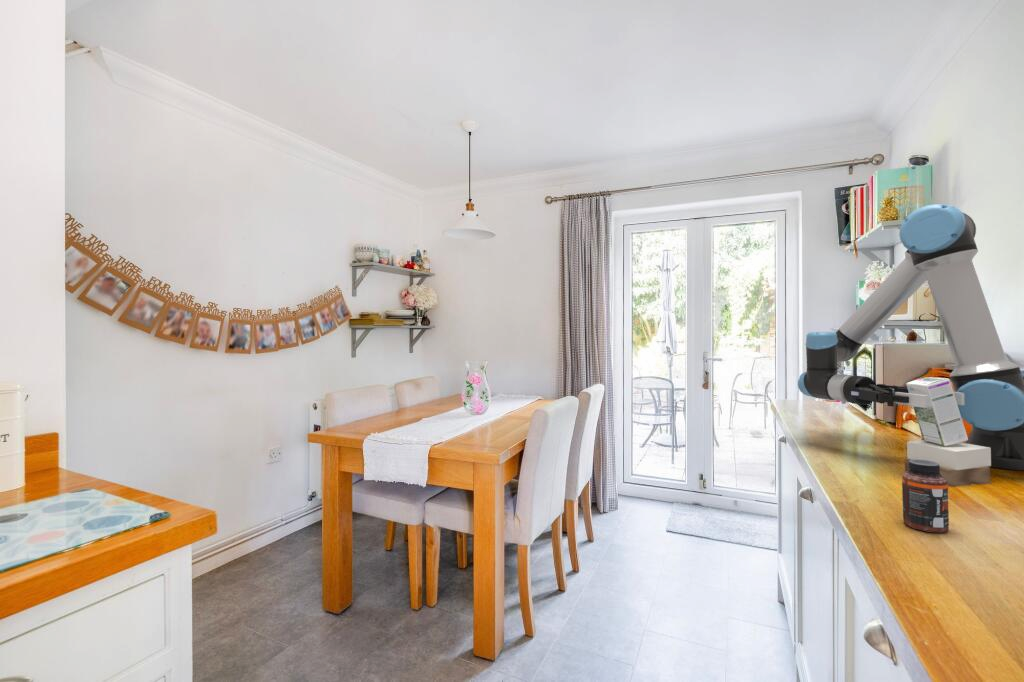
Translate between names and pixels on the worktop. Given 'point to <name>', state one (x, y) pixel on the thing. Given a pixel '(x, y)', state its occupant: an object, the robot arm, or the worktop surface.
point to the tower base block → (962, 475)
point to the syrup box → (938, 412)
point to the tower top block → (950, 454)
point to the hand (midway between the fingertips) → (944, 400)
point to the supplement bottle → (925, 497)
